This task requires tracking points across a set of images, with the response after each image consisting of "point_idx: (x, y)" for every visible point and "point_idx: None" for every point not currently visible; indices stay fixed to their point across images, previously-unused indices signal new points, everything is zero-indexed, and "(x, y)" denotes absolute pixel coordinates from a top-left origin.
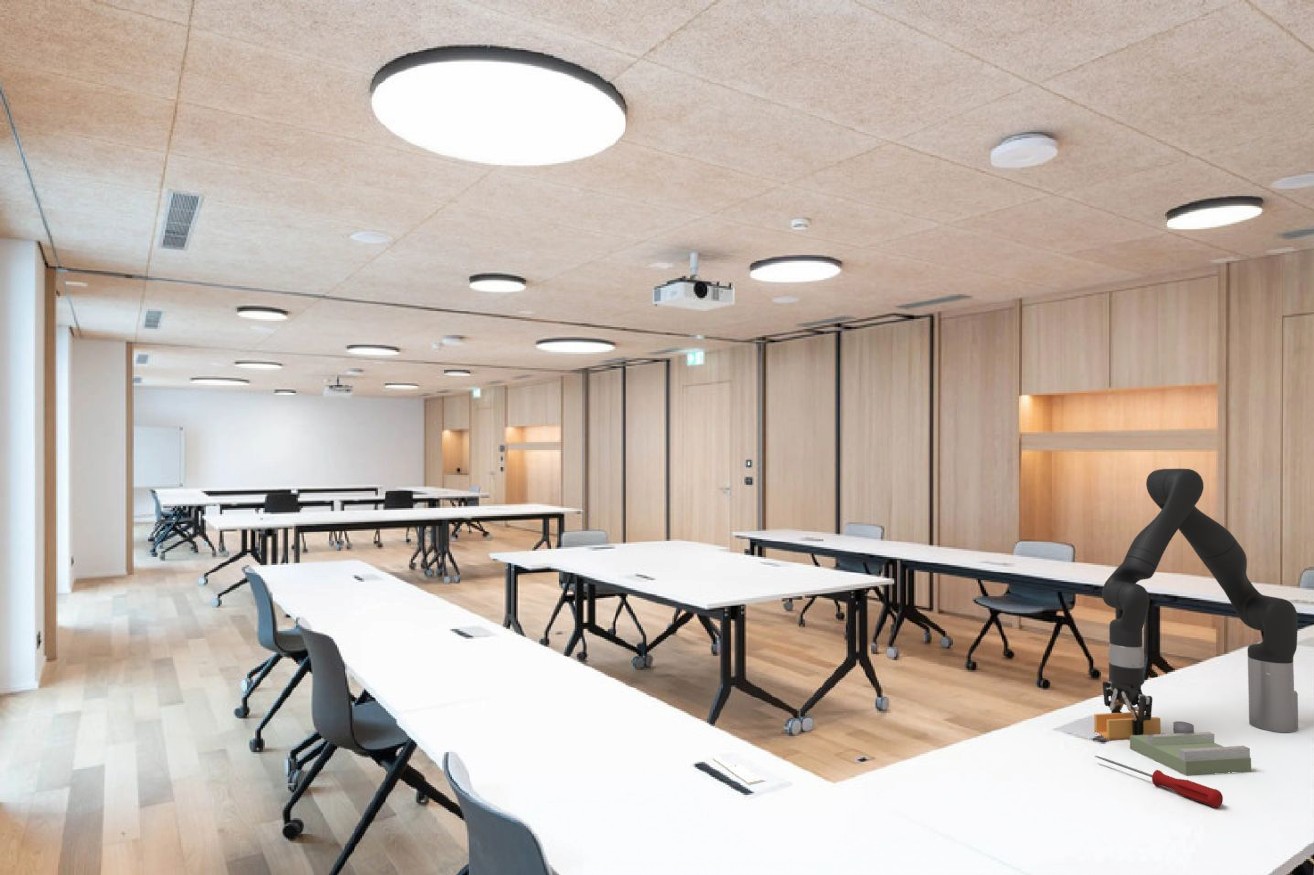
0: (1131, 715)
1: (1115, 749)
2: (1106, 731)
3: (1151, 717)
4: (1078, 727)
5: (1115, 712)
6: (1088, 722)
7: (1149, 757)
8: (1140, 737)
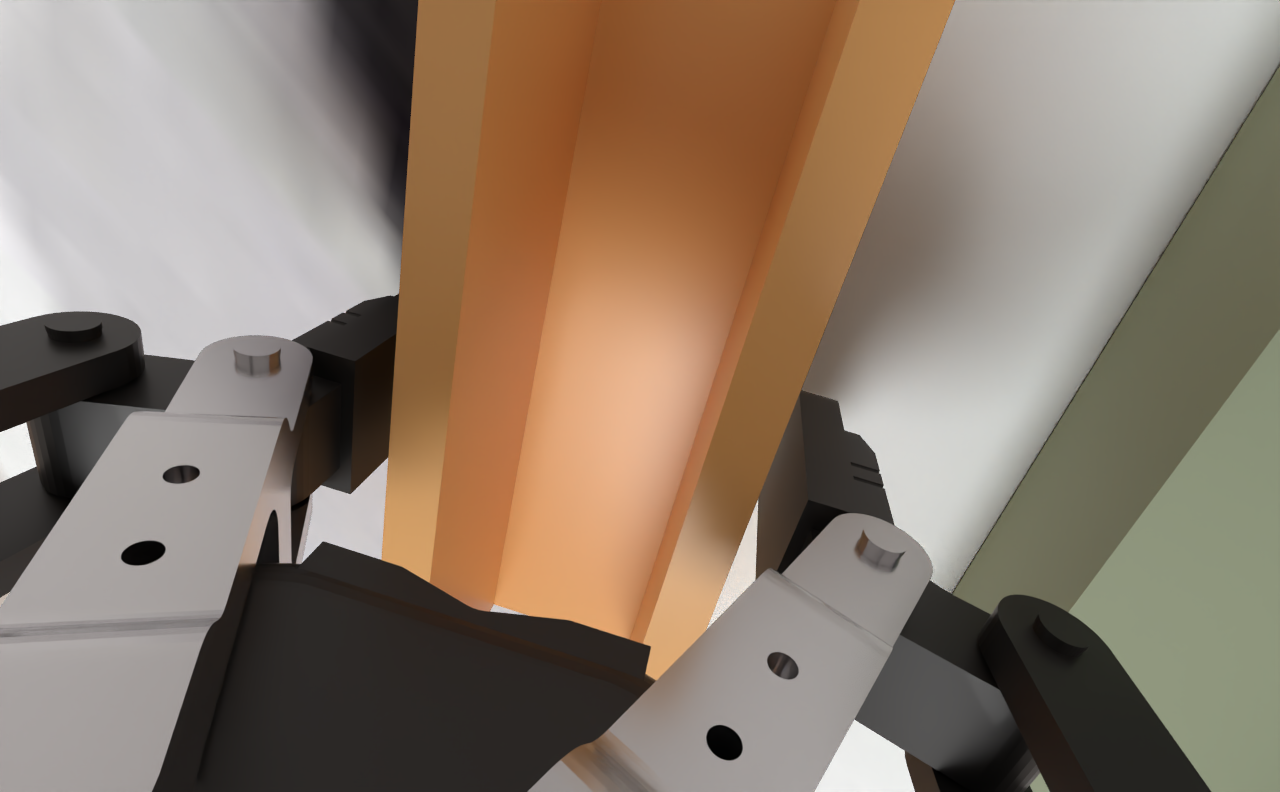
0: (479, 262)
1: (839, 777)
2: (508, 521)
3: (825, 130)
4: (306, 553)
5: (355, 468)
6: (176, 339)
7: None
8: (1036, 780)
